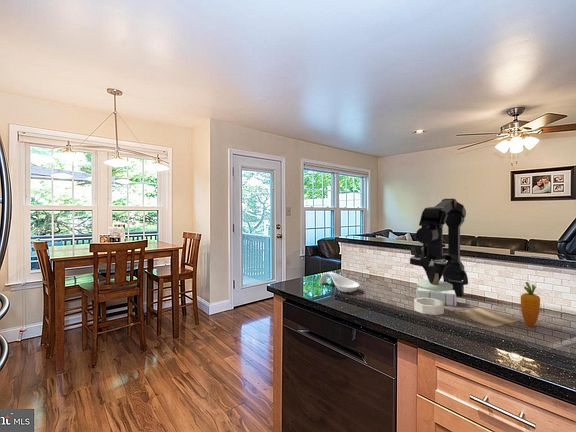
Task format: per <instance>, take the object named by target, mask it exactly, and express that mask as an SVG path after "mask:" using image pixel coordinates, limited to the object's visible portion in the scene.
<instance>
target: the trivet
mask: <svg viewBox="0 0 576 432" xmlns="http://www.w3.org/2000/svg"><path fill="white" fill-rule="evenodd" d="M454 314H457V315H459V316H462V317H464V318H466V319H467V318H468V319H470V320H472V321H475V322H477V323H480V324H483V325H485V326H489V327H491V328H495V327H499V326H503V325H507V324H512V323H516V322H520V321H521V319H518V318H515V317H512V316H509V315H505V314H502V313H499V312H496V311H493V310H491V309H487V308H484V307H481V306H480V307H475V308H470V309H467V310H460V311H455V312H454Z"/></svg>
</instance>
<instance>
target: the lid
mask: <svg viewBox="0 0 576 432" xmlns="http://www.w3.org/2000/svg"><path fill="white" fill-rule="evenodd" d="M416 287H420V288H423V289H427V290H433V291H449V290H452V289H453V285H452V284H450V283H447V282H444V280H440V281H439V273H435V276H434V280H433V283H430V282H429V280H428V279H420V280H417V281H416Z"/></svg>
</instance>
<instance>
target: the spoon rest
mask: <svg viewBox="0 0 576 432" xmlns="http://www.w3.org/2000/svg"><path fill="white" fill-rule="evenodd" d="M328 276H330V277H331V279H332V281H333V284H334V286H335V287H336V289H337V290H338V291H340V292H341V293H347V292H348V293H353V292H355V291H357V290H359V288H360V286H361V285H360V284H359V282H357V281H355V280H352V279H350V278H347V277H345V276H342V275H340V274H339V273H336V272H332V271H329V272H325V273H323V274H322V275H321V277H320V279H319V285H324V284H327V277H328Z"/></svg>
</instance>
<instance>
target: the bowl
mask: <svg viewBox="0 0 576 432" xmlns="http://www.w3.org/2000/svg"><path fill="white" fill-rule="evenodd" d="M413 300H414V301H413V302H414V303H413V308H414V309H413V310H414V311H416V312H418V313H420V314H424V315H433V316H437V315H443V314H445V305H444V304H443V302H442V301H439V300H437V299H433V298H416V297H415V298H414V299H413Z"/></svg>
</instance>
